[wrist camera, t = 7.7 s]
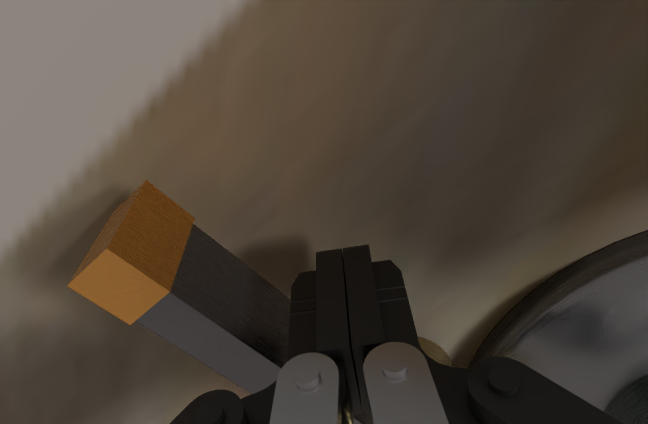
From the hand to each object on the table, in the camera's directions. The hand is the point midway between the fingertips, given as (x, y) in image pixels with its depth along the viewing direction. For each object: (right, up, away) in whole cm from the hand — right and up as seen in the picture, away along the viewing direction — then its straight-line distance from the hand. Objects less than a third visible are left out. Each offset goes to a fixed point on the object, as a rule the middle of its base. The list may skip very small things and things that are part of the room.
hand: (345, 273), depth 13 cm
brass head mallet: (-1, -2, +3) cm, 4 cm away
